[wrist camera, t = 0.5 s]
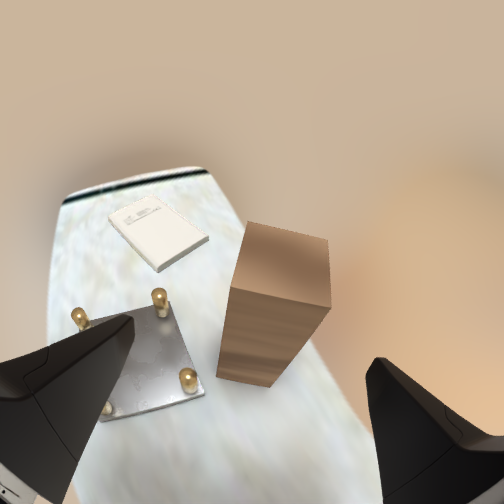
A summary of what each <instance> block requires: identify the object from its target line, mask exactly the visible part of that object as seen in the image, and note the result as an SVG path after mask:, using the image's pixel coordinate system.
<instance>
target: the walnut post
mask: <svg viewBox="0 0 504 504" xmlns="http://www.w3.org/2000/svg"><path fill="white" fill-rule="evenodd" d="M330 309H331V285H330V267H329V251H328V240H325V239H321V238H317V237H313V236H309V235H305V234H301V233H297V232H292V231H288V230H284V229H280V228H275V227H271V226H267V225H262V224H258V223H253V222H249V221H248V223H247V226H246V230H245V233H244V237H243V241H242V245H241V248H240V252H239V256H238V260H237V263H236V267H235V271H234V275H233V278H232V282H231V286H230V292H229V298H228V304H227V310H226V316H225V322H224V329H223V335H222V341H221V348H220V354H219V360H218V367H217V374H216V377H218V378H223V379H227V380H232V381H237V382H242V383H247V384H252V385H258V386H263V387H269V388H270V387H271V386H272V384H273V383H274V382H275V381H276V380H277V378H278V377H279V376H280V375H281V374H282V372H283V371H284V370H285V369H286V368H287V366H288V365H289V364H290V363H291V361H292V360H293V359H294V358H295V356H296V355H297V354H298V352H299V351H300V350H301V349H302V347H303V346H304V345H305V343H306V342H307V341H308V339H309V338H310V337H311V335H312V334H313V333H314V331H315V330H316V329H317V327H318V326H319V324H320V323H321V322H322V320H323V319H324V317H325V316H326V315H327V313H328V312H329V310H330Z"/></svg>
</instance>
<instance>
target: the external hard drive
mask: <svg viewBox="0 0 504 504" xmlns="http://www.w3.org/2000/svg"><path fill="white" fill-rule="evenodd" d="M108 220H109V222H110V223H111V224H112V225H113V226H114V228H115V229H116V230H117V231H118V232H119V233H120V234H121V235H122V236H123V238H124V239H125V240H126V241H127V242H128V243H129V244H130V245H131V246H132V247H133V248H134V249H135V250H136V251H137V252H138V254H139V255H140V256H141V257H142V258H143V259H144V260H145V261H146V262H147V263H148V264H149V265H150V266H151V267H152V268H153V269H154V270H155V271H156V272H157V273H159V272H161V271H162V270H164V269H165V268H167V267H168V266H170V265H171V264H173V263H174V262H176V261H177V260H179V259H180V258H182V257H184V256H185V255H187V254H188V253H190V252H191V251H193V250H194V249H196V248H198V247H199V246H201V245H202V244H204V243H206V242H207V241H209V236H208V235H207V234H206V233H204V232H203V231H202V230H200V229H199V228H198V227H196V226H195V225H194V224H192V223H191V222H190V221H188V220H187V219H186V218H184V217H183V216H182V215H180V214H179V213H178V212H176V211H175V210H174V209H172V208H171V207H170V206H169V205H167V204H166V203H164V202H163V201H162V200H160V199H159V198H158V197H157V196H155V195H154V194H151V195H149V196H147V197H145V198H142V199H140V200H138V201H136V202H134V203H132V204H130V205H128V206H126V207H124V208H122V209H120V210H118V211H116V212H114V213H112V214H110V215H109V216H108Z"/></svg>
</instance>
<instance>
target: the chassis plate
mask: <svg viewBox="0 0 504 504" xmlns="http://www.w3.org/2000/svg"><path fill="white" fill-rule="evenodd" d="M151 296H152V300H153V304H154V305H151V306H148V307H144V308H140V309H136V310H132V311H128V312H124V313H119V314H115V315H111V316H107V317H103V318H99V319H95V320H89V318H88V317H87V315H86V313H85V312H84V310H83V309H82V308H80V307H77V308H75V309H74V310H73V311H72V313H71V317H72V319H73V320H74V322H75V323H76V325H77V326H78V327H79V332H81V331H84V330H86V329H88V328H91V327H93V326H95V325H98V324H100V323H102V322H104V321H107V320H109V319H111V318H114V317H116V316H118V315H121V314H127V315H131V316H133V317H134V322H135V339H134V342H133V344H132V347H131V349H130V352H129V355H128V357H127V360H126V362H125V365H124V368H123V370H122V373H121V375H120V377H119V379H118V381H117V383H116V385H115V387H114V389H113V390H112V392H111V394H110V396H109V398H108V400H107V402H106V404H105V406H104V408H103V410H102V412H101V415H100V417H99V419H98V421H100V422H104V421H109V420H114V419H119V418H124V417H128V416H133V415H137V414H141V413H145V412H149V411H153V410H157V409H161V408H164V407H168V406H172V405H175V404H178V403H182V402H185V401H188V400H191V399H195V398H198V397H201V396H204V395H205V392H204V390H203V387H202V385H201V383H200V380H199V378H198V376H197V373H196V371H195V369H194V366H193V364H192V361H191V359H190V356H189V354H188V351H187V349H186V346H185V343H184V341H183V338H182V336H181V333H180V330H179V327H178V325H177V322H176V319H175V316H174V314H173V311H172V308H171V305H170V302H169V301H168V300H167V293H166V291H165V290H164V289H163V288H156V289H154V290H153V291H152V293H151Z"/></svg>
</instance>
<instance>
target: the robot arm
mask: <svg viewBox="0 0 504 504" xmlns="http://www.w3.org/2000/svg"><path fill="white" fill-rule="evenodd" d="M134 339H135V322H134V317H133V316H131V315H127V314H121V315H118V316H116V317H114V318H111V319H109V320H107V321H104V322H102V323H100V324H98V325H95V326H93V327H91V328H88V329H86V330H84V331H81V332H79V333H77V334H75V335H72V336H70V337H68V338H65V339H63V340H61V341H58V342H56V343H54V344H51V345H50V346H47V347H44V348H42V349H40V350H38V351H35V352H32V353H30V354H27V355H24V356H21V357H18V358H15V359H12V360H8V361H5V362H2V363H0V504H33V503H34V501H35V499H36V497H37V494H38V495H40V496H41V497H43V498H45V499H46V500H48V501H49V502H51V503H53V504H62V502H63V500H64V497H65V494H66V492H67V489H68V487H69V484H70V482H71V479H72V477H73V475H74V472H75V470H76V467H77V465H78V462H79V460H80V458H81V456H82V453H83V451H84V449H85V447H86V444H87V442H88V440H89V438H90V436H91V433H92V431H93V429H94V427H95V425H96V423H97V421H98V419H99V417H100V415H101V412H102V410H103V408H104V406H105V404H106V402H107V400H108V398H109V396H110V394H111V392H112V390H113V389H114V387H115V385H116V383H117V381H118V379H119V377H120V375H121V373H122V370H123V368H124V365H125V362H126V360H127V357H128V355H129V352H130V349H131V347H132V344H133V342H134ZM366 387H367V397H368V407H369V413H370V419H371V424H372V429H373V435H374V440H375V446H376V452H377V458H378V465H379V472H380V479H381V487H382V496H383V504H504V436H493V435H489V434H486V433H485V432H483V431H482V430H480V429H479V428H477V427H476V426H474V425H473V424H471V423H470V422H468V421H467V420H465V419H464V418H462V417H461V416H459V415H458V414H457V413H455V412H454V411H453V410H451V409H450V408H449V407H447V406H446V405H444V403H442V402H441V401H440V400H438V399H437V398H436V397H435V396H433V395H432V394H431V393H430V392H428V391H427V390H426V389H424V388H423V387H422V386H421V385H419V384H418V383H417V382H416V381H414V380H413V379H412V378H410V377H409V376H408V375H406V374H405V373H404V372H403V371H401V370H400V369H399V368H398V367H396V366H395V365H394V364H393V363H391V362H390V361H388V359H386V358H382V357H377V358H375V359H374V361H373V362H372V364H371V366H370V367H369V369H368V371H367V373H366Z"/></svg>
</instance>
